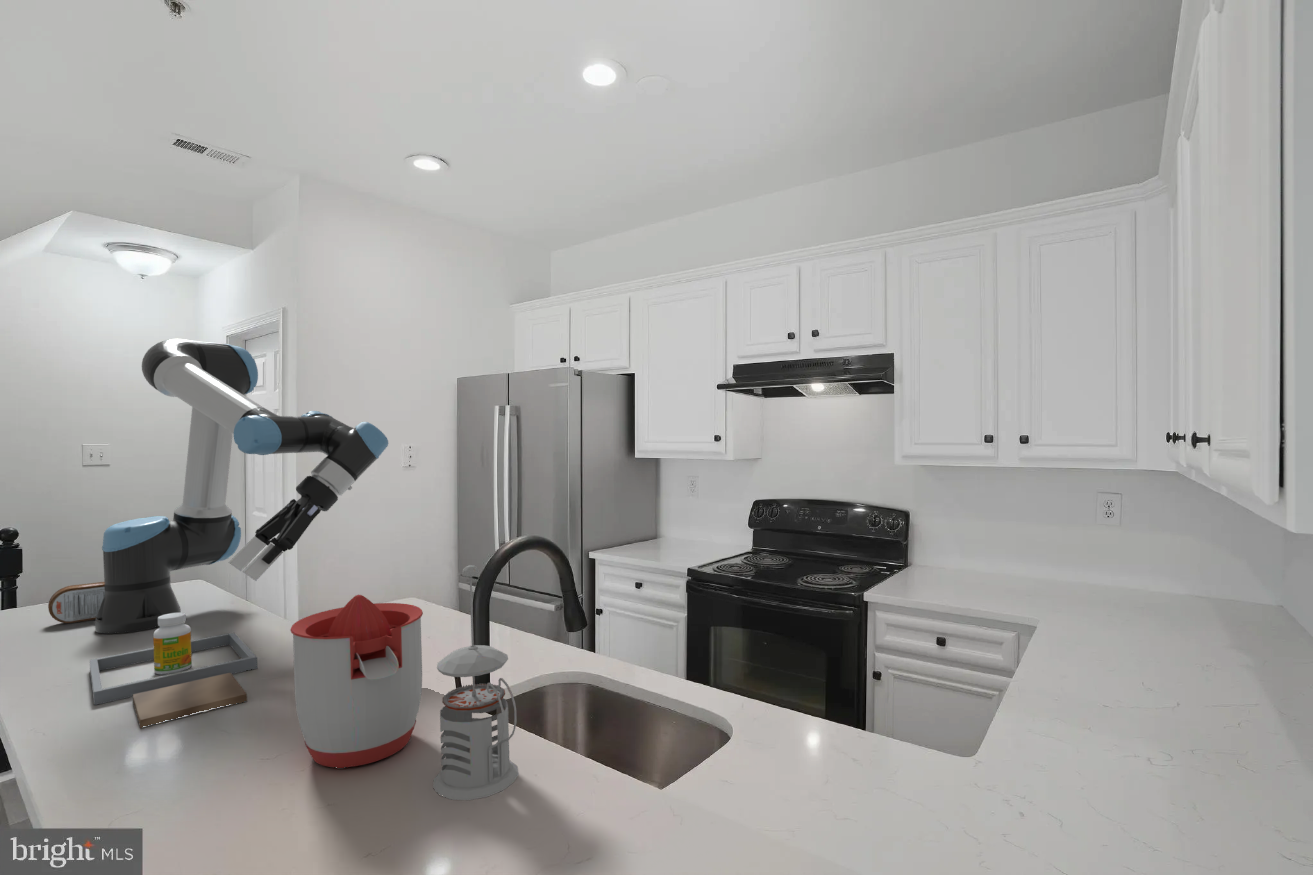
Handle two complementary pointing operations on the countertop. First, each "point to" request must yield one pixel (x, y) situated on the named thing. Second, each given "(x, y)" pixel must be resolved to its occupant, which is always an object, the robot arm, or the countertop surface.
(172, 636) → the supplement bottle
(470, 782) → the french press
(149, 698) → the walnut board
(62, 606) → the tin
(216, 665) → the tray frame
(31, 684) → the countertop surface
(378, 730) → the citrus juicer
